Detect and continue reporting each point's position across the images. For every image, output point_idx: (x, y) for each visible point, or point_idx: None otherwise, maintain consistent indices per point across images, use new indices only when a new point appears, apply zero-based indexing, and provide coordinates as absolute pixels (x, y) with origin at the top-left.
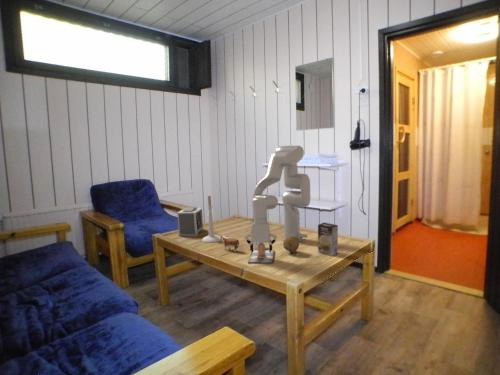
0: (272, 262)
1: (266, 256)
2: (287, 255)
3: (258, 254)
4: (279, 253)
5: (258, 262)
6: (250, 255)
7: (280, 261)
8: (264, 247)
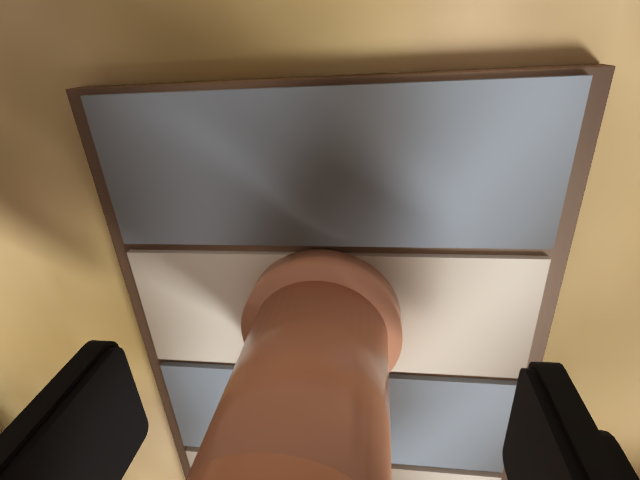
0: (78, 88)
1: None
2: (10, 389)
3: (376, 331)
4: None
5: (359, 75)
6: None
7: (3, 189)
8: (189, 471)
